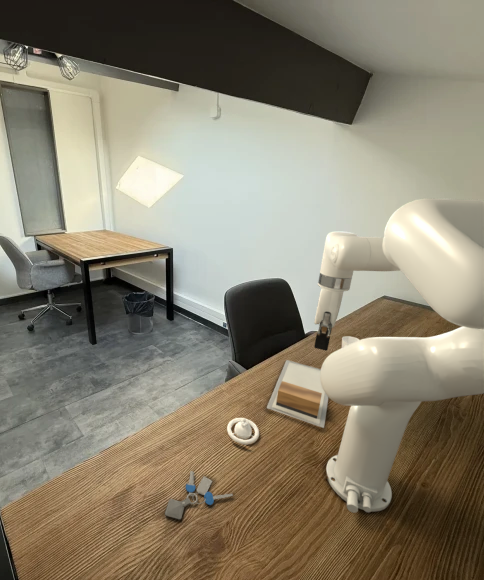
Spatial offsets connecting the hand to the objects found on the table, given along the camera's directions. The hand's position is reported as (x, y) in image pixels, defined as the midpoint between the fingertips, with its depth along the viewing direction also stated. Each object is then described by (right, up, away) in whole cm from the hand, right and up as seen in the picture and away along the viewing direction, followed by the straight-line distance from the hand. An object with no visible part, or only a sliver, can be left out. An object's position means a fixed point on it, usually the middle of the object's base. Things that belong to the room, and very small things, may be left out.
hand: (322, 340), depth 83 cm
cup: (+20, -12, +29) cm, 37 cm away
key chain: (-35, -28, -20) cm, 49 cm away
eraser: (-6, -19, +4) cm, 20 cm away
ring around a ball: (-23, -23, -6) cm, 33 cm away
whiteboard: (-2, -17, +11) cm, 21 cm away
